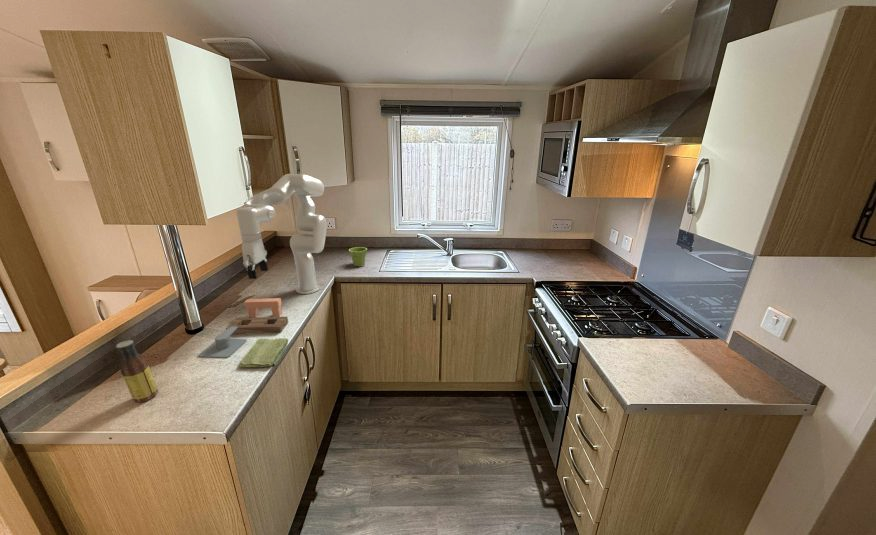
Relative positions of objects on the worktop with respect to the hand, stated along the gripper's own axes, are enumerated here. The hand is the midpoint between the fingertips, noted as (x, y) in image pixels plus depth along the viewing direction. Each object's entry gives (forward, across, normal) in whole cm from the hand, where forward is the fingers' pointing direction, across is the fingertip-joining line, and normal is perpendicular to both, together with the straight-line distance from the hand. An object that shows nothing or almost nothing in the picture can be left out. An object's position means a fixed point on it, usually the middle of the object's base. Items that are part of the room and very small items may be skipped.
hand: (258, 274), depth 148 cm
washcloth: (+22, +29, +14) cm, 39 cm away
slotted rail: (+22, +10, +1) cm, 24 cm away
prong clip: (+22, -2, -2) cm, 22 cm away
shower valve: (+22, +24, -5) cm, 33 cm away
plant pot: (+22, -75, +25) cm, 82 cm away
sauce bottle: (+22, +53, -12) cm, 58 cm away
